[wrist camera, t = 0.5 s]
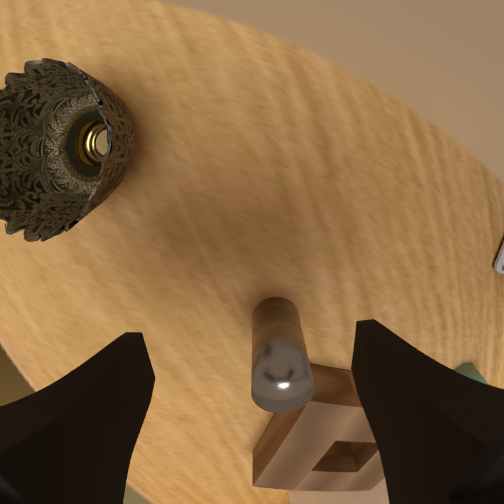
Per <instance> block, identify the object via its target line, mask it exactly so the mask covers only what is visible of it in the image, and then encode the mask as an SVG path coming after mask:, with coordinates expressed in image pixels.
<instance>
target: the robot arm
mask: <svg viewBox="0 0 504 504" xmlns="http://www.w3.org/2000/svg"><path fill="white" fill-rule="evenodd" d="M502 267H503V268H502ZM494 269H495V270H496V271H497V272H499V273H501V274H503V275H504V241H503V244H502V246H501V249H500V251H499V254H498V256H497V259H496V261H495V263H494ZM351 370H352V374H353V378H354V383H355V387H356V391H357V394H358V397H359V399H360V402H361V404H362V407H363V410H364V412H365V415H366V417H367V420H368V422H369V425H370V428H371V430H372V433H373V436H374V438H375V441H376V444H377V447H378V450H379V453H380V458H381V462H382V467H383V471H384V476H385V481H386V487H387V492H388V498H389V504H504V389H500V388H497V387H494V386H490V385H488V384H485V383H482V382H479V381H477V380H474V379H471V378H469V377H467V376H464V375H462V374H460V373H458V372H456V371H454V370H452V369H450V368H448V367H446V366H444V365H442V364H440V363H439V362H437V361H435V360H434V359H432V358H430V357H429V356H427V355H425V354H424V353H422V352H421V351H419V350H417V349H416V348H414V347H413V346H411V345H410V344H409V343H407V342H406V341H404V340H403V339H401V338H400V337H399V336H397V335H396V334H394V333H393V332H392V331H390V330H389V329H388V328H386V327H385V326H383V325H382V324H380V323H379V322H377V321H376V320H374V319H371V320H363V321H357V323H356V333H355V342H354V350H353V359H352V366H351ZM154 382H155V375H154V371H153V368H152V365H151V362H150V359H149V355H148V352H147V348H146V345H145V342H144V338H143V334H142V332H126V333H124V334H123V335H121V336H120V337H118V338H117V339H115V340H114V341H113V342H111V343H110V344H109V345H107V346H106V347H105V348H103V349H102V350H101V351H99V352H98V353H97V354H95V355H94V356H93V357H91V358H90V359H88V360H87V361H86V362H84V363H83V364H81V365H80V366H79V367H77V368H76V369H74V370H73V371H71V372H70V373H68V374H67V375H65V376H64V377H62V378H61V379H59V380H57V381H56V382H54V383H52V384H51V385H49V386H47V387H45V388H43V389H41V390H39V391H37V392H35V393H33V394H31V395H29V396H26V397H24V398H22V399H19V400H17V401H15V402H12V403H10V404H7V405H4V406H0V504H123V499H124V492H125V486H126V480H127V474H128V469H129V464H130V460H131V456H132V453H133V449H134V447H135V444H136V441H137V438H138V435H139V433H140V430H141V427H142V424H143V421H144V419H145V416H146V413H147V410H148V407H149V404H150V402H151V397H152V393H153V388H154Z"/></svg>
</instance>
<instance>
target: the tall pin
mask: <svg viewBox="0 0 504 504" xmlns="http://www.w3.org/2000/svg"><path fill="white" fill-rule="evenodd" d="M314 392H315V386H314V381H313V377H312V372H311V368H310V363H309V359H308V354H307V350H306V345H305V341H304V337H303V332H302V328H301V324H300V319H299V315H298V311H297V309H296V307H295V306H294V305H293V304H292V303H291V302H290V301H288V300H286V299H283V298H270V299H267V300H264V301H263V302H261V303H260V304H259V305H258V306H257V307H256V308H255V310H254V312H253V317H252V385H251V394H252V399H253V401H254V402H255V404H256V405H257V406H259V407H260V408H262V409H264V410H266V411H269V412H273V413H288V412H292V411H295V410H298V409H300V408H302V407H304V406H305V405H306V404H307V403H309V401H310V400H311V399H312V397H313V395H314Z"/></svg>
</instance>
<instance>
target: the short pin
mask: <svg viewBox="0 0 504 504" xmlns="http://www.w3.org/2000/svg"><path fill="white" fill-rule="evenodd" d="M454 371H456V372H458V373H460V374H462V375H464V376H467V377H469V378H471V379H474V380H477V381H479V382H482V383H485V384H488V383H487V381H486V380H485V379H484V378H483V376H482V375H481V374H480V373H479V371H478V370H477V369H476V367H475V366H474V365H473V364H472V363H465V364H462V365H461V366H459V367H458V368H457V369H455V370H454ZM488 385H489V384H488Z"/></svg>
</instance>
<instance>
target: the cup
mask: <svg viewBox="0 0 504 504" xmlns="http://www.w3.org/2000/svg"><path fill="white" fill-rule="evenodd" d="M41 60H42V61H43V62H42V61H27V62H25V67H24V72H25V73H8V74H7V75H6V76H5V84H6V87H5V88H3V89H1V90H0V219H2V220H5V221H6V222H7V226H6V224H5V228H6V229H5V230H6V233H7V234H13V233H16V232H18V231H21V230H24V229H25V230H24V239H25V240H26V241H28V242H33V241H38V240H39V239H40V238H41V241H42V242H43V241H46V240H48V239H50V238H52V237H53V236H56V235H59V234H61V233H62V232H63V231H64V230H65V231H66V232H67V231H68V230H70V229H71V228H72V227H73V226H74V225H76V224H77V223H78V222H79V221H80V220H81V219H82V218H84V217H85V216H86V215H87V214H89V213H90V212H91V211H92V210H93V209H95V208H96V207H97V206H98V205H100V204H101V203H102V202H103V201H104V200H106V199H107V198H108V197H109V196H110V195H111V194H112V193H113V192H114V191H115V190H116V188H117V187H118V186H119V185H120V183H121V182H122V180H123V179H124V177H125V176H126V174H127V172H128V170H129V168H130V165H131V162H132V159H133V155H134V150H135V129H134V124H133V121H132V117H131V115H130V113H129V111H128V109H127V107H126V106H125V104H124V103H123V101H122V100H121V99H120V97H118V96H117V95H116V94H115V93H114V92H113V91H112V90H111V89H110V88H108V87H107V86H106V85H104V84H103V83H101V82H100V81H98V80H97V79H95V78H93V77H92V76H90V75H88V74H87V73H85V72H83V71H82V70H80V69H79V68H77V67H76V66H74V65H73V64H71V63H69V62H68V63H67V64H66V63H64V62H62V61H56V60H53V59H48V58H43V59H41ZM7 84H8V85H7ZM106 129H107V142H108V150H107V153H106V154H105V155H103V156H102V155H100V154H99V153H98V152H97V150H96V148H95V139H96V137H97V135H98V134H99V133H100V132H101V131H103V130H106Z"/></svg>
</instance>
